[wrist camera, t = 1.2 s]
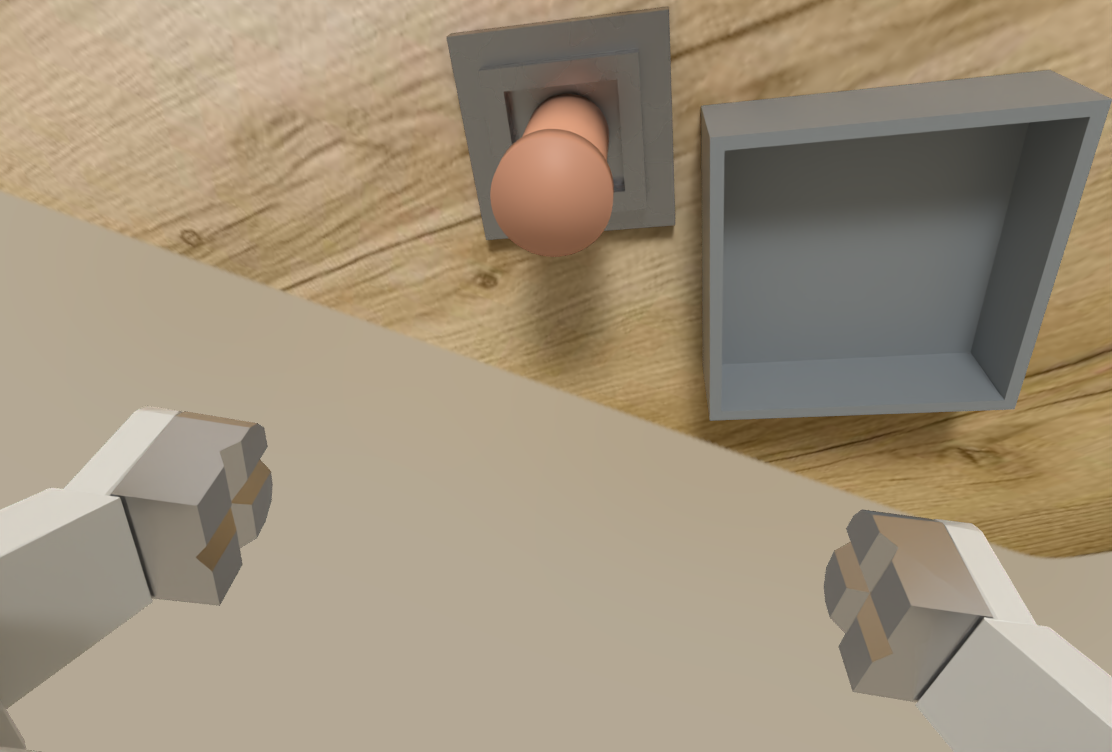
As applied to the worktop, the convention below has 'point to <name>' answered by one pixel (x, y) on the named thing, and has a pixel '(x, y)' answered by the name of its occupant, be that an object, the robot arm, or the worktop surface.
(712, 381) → the slate tray
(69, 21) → the worktop surface
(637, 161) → the socket plate
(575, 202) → the butternut squash
